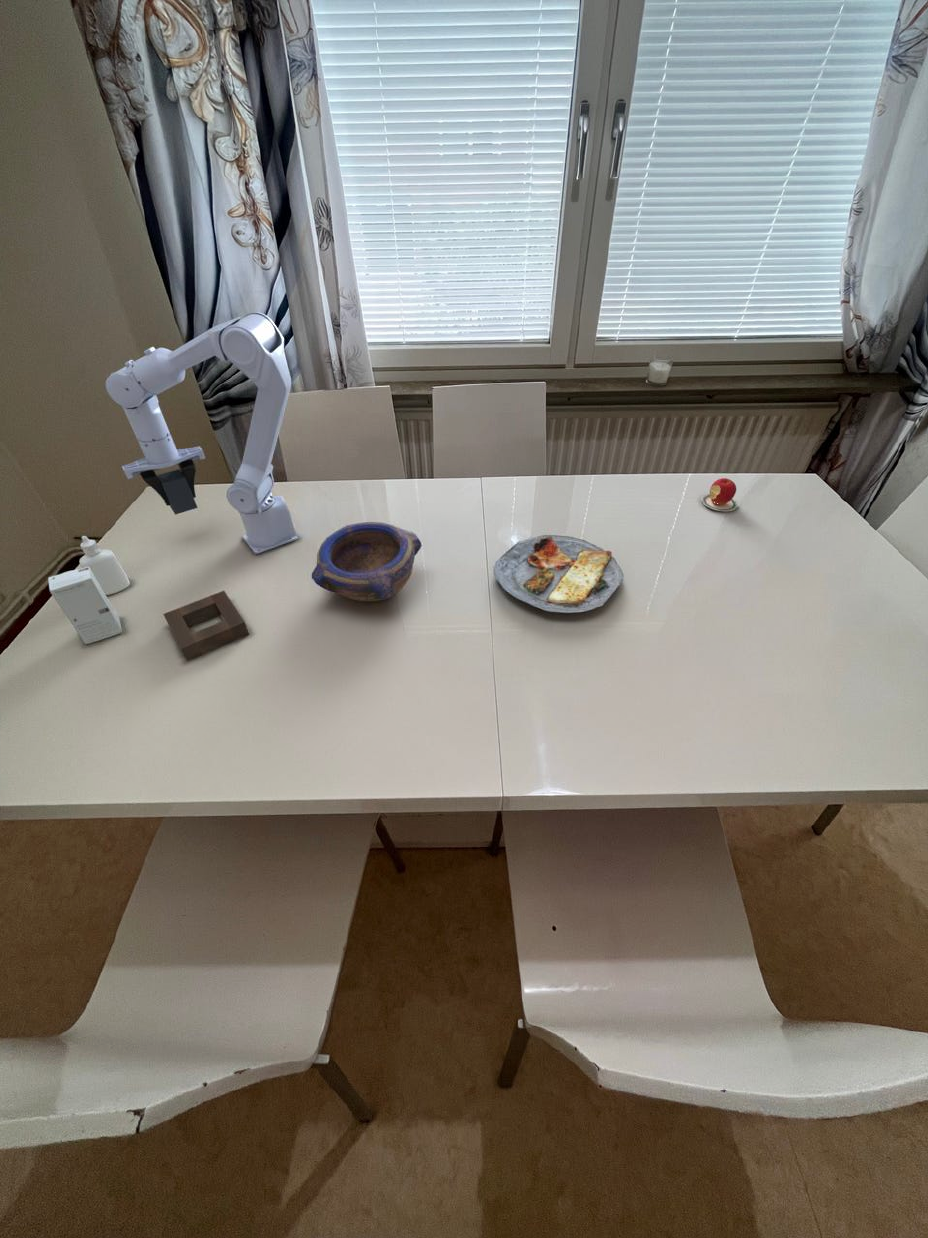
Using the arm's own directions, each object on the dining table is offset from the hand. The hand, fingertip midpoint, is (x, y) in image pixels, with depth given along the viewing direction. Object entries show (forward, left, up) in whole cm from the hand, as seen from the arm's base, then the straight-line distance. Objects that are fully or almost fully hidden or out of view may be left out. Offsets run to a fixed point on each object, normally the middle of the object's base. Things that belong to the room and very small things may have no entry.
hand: (180, 499), depth 107 cm
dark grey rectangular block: (0, 0, -2) cm, 2 cm away
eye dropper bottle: (+18, +8, -10) cm, 22 cm away
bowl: (-22, +38, -10) cm, 45 cm away
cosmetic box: (+22, +20, -10) cm, 32 cm away
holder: (+7, +31, -9) cm, 34 cm away
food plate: (-53, +58, -10) cm, 79 cm away
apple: (-104, +61, -10) cm, 121 cm away
